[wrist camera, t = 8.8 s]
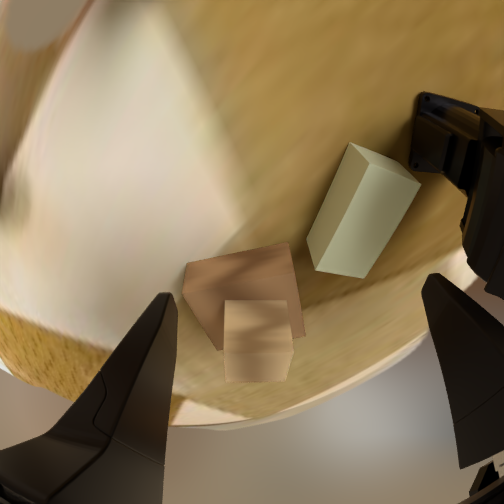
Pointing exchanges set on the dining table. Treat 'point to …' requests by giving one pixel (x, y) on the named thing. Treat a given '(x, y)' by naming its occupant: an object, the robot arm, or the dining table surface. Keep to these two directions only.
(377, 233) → the block
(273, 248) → the base block
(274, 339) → the oak cube
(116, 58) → the dining table surface
